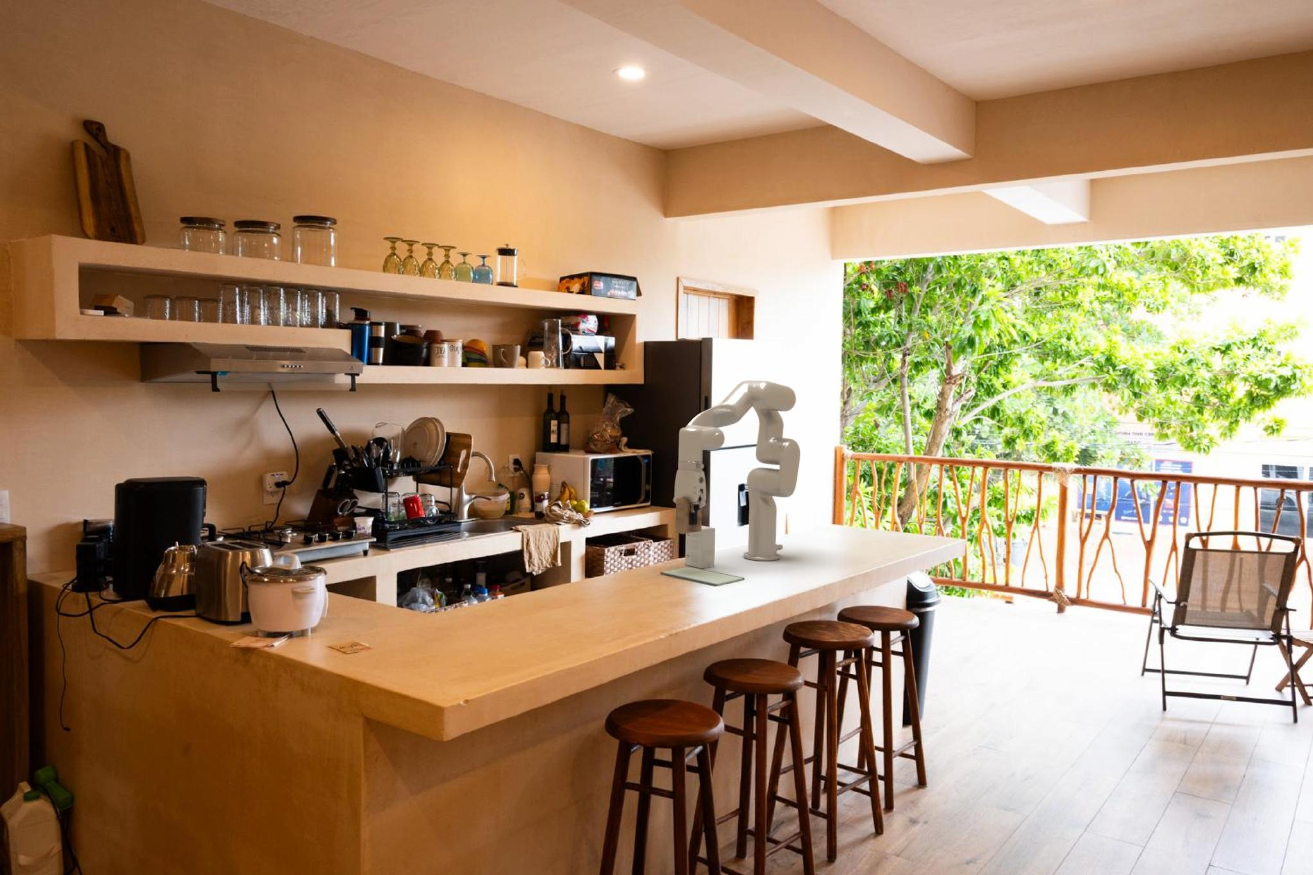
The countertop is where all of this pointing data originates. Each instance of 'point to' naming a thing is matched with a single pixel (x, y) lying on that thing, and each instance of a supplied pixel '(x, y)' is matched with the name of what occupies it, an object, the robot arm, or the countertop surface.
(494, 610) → the countertop surface
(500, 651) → the countertop surface
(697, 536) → the small box
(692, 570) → the mat
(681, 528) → the slab
